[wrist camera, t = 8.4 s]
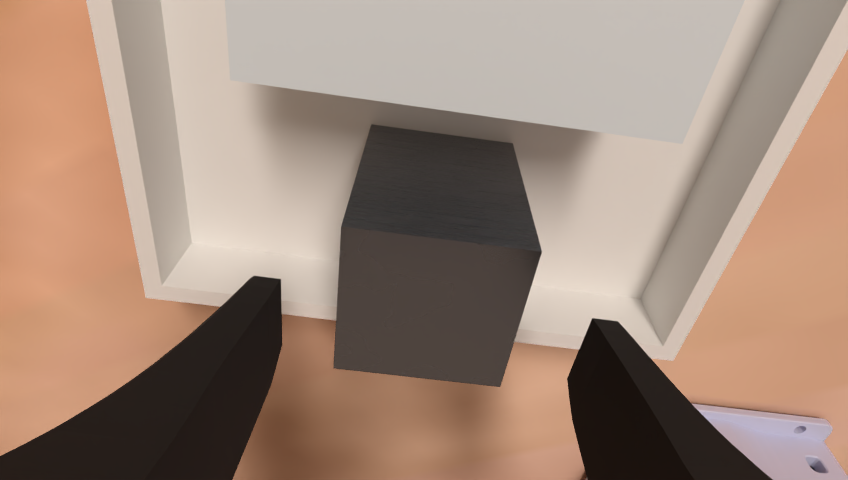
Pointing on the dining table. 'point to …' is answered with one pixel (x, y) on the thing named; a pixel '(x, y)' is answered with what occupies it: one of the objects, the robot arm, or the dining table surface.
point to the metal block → (434, 258)
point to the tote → (533, 143)
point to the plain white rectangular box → (495, 56)
